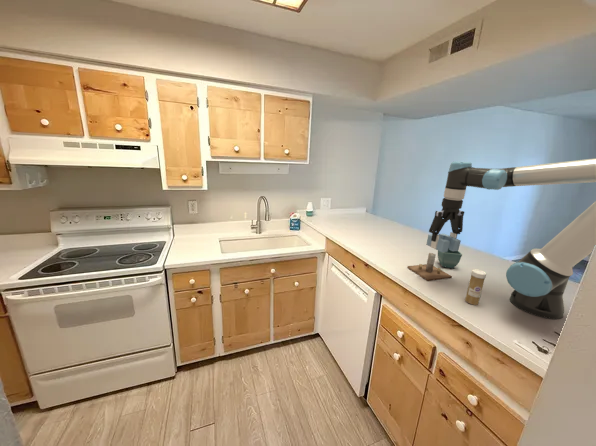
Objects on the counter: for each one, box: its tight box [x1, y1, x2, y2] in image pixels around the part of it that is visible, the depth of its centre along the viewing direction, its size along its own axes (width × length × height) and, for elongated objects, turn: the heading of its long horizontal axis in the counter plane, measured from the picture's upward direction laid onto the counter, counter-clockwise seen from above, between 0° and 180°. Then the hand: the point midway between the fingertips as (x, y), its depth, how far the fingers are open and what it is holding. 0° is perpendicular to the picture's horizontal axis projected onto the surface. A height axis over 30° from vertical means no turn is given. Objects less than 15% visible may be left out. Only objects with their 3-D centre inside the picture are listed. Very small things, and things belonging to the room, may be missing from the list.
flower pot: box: [437, 248, 463, 269], centre depth 128 cm, size 9×9×9 cm
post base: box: [407, 252, 453, 282], centre depth 119 cm, size 14×14×10 cm
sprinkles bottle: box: [464, 268, 487, 306], centre depth 95 cm, size 5×5×14 cm
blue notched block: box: [425, 233, 462, 252], centre depth 110 cm, size 9×9×5 cm
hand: (442, 247), depth 110 cm, fingers closed on blue notched block, 9 cm apart
